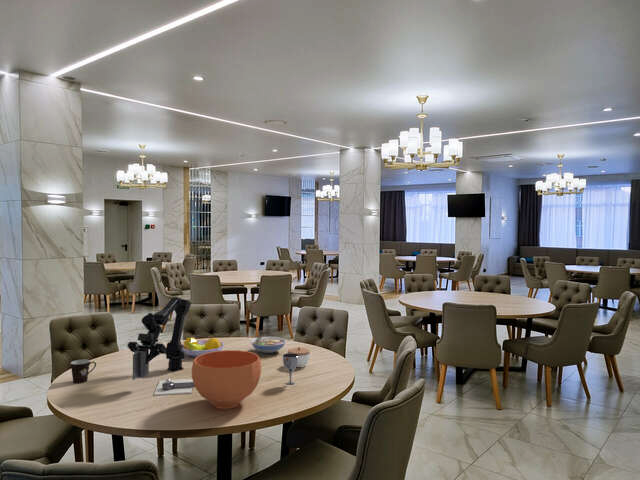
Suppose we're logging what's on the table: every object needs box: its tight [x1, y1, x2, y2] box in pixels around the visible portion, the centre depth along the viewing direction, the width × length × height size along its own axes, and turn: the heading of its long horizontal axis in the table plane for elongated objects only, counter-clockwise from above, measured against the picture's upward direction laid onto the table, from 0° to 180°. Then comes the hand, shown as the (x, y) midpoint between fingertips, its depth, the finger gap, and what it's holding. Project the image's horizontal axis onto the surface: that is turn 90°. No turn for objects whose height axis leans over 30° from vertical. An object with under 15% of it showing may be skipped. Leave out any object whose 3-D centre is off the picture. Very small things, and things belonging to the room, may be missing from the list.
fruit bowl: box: [182, 336, 225, 358], centre depth 285 cm, size 28×27×11 cm
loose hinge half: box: [132, 349, 150, 381], centre depth 219 cm, size 10×6×12 cm, turn 170°
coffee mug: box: [70, 359, 97, 384], centre depth 233 cm, size 12×9×10 cm
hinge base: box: [153, 377, 195, 396], centre depth 225 cm, size 20×18×6 cm
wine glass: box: [282, 352, 298, 385], centre depth 231 cm, size 8×8×15 cm
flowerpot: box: [191, 349, 262, 410], centre depth 204 cm, size 30×30×20 cm
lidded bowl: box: [287, 346, 311, 368], centre depth 263 cm, size 13×13×11 cm
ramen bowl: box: [250, 334, 287, 354], centre depth 293 cm, size 25×23×8 cm
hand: (140, 363), depth 220 cm, fingers closed on loose hinge half, 6 cm apart
